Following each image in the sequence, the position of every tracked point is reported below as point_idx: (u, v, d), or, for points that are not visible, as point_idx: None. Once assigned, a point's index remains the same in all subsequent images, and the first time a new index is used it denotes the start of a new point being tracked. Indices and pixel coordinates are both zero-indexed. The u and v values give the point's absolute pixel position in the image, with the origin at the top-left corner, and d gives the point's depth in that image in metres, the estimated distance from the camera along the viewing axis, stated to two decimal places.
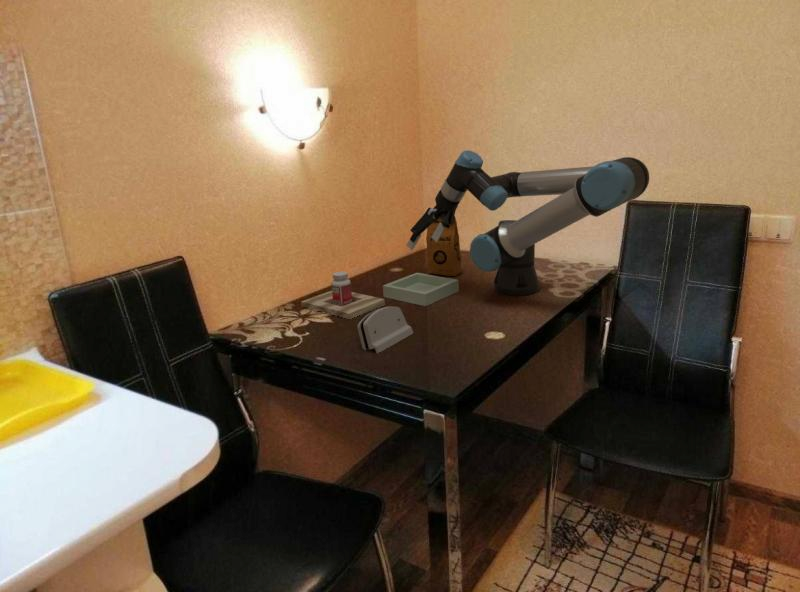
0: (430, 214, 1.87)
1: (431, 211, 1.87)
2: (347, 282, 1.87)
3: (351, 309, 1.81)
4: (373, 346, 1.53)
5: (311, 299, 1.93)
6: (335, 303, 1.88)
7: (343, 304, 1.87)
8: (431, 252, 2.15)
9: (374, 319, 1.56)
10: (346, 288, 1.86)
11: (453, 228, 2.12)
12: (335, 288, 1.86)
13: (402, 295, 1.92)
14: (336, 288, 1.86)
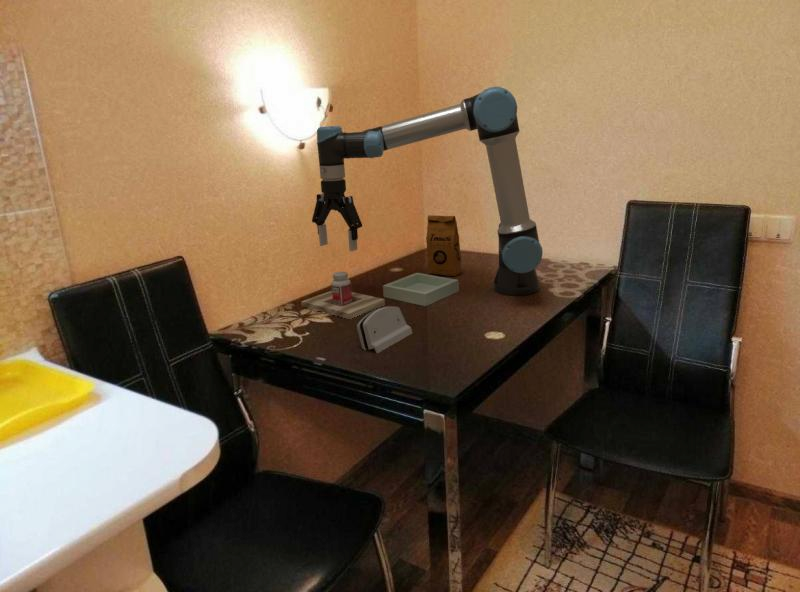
0: (351, 200, 1.77)
1: (350, 197, 1.76)
2: (347, 282, 1.87)
3: (351, 309, 1.81)
4: (373, 346, 1.53)
5: (311, 299, 1.93)
6: (335, 303, 1.88)
7: (343, 304, 1.87)
8: (431, 252, 2.15)
9: (374, 319, 1.56)
10: (346, 288, 1.86)
11: (453, 228, 2.12)
12: (335, 288, 1.86)
13: (402, 295, 1.92)
14: (336, 288, 1.86)
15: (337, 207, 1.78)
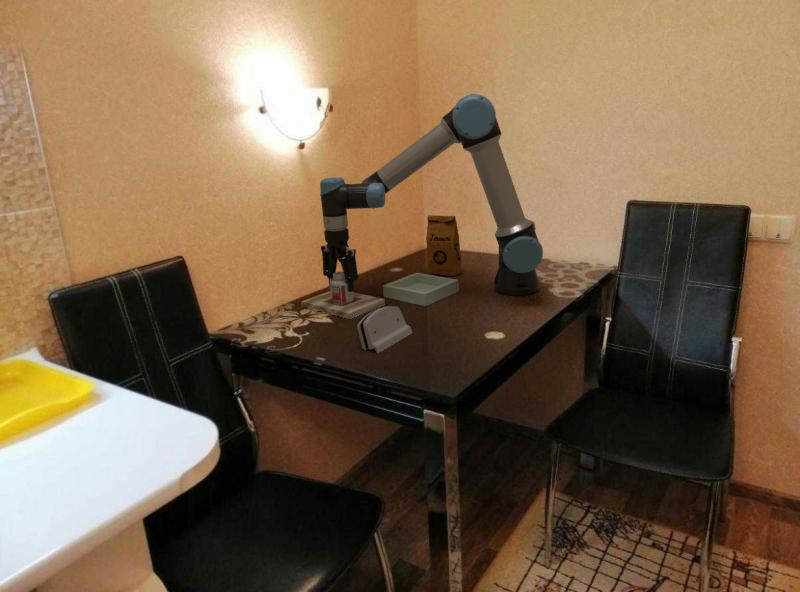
0: (354, 253, 1.82)
1: (353, 251, 1.81)
2: None
3: (351, 309, 1.81)
4: (373, 346, 1.53)
5: (311, 299, 1.93)
6: (335, 303, 1.88)
7: (343, 304, 1.87)
8: (431, 252, 2.15)
9: (374, 319, 1.56)
10: None
11: (453, 228, 2.12)
12: (335, 288, 1.86)
13: (402, 295, 1.92)
14: (336, 288, 1.86)
15: (339, 257, 1.83)
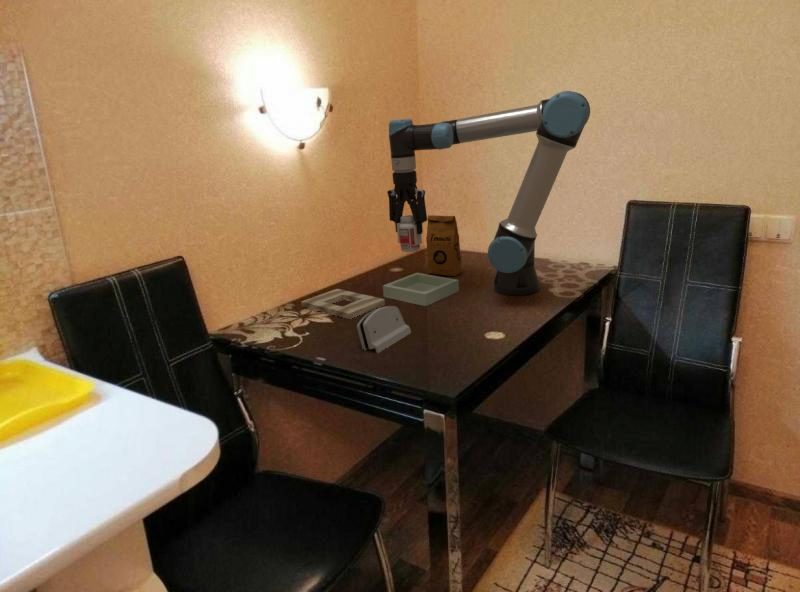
0: (423, 194, 1.83)
1: (423, 192, 1.82)
2: None
3: (351, 309, 1.81)
4: (373, 346, 1.53)
5: (311, 299, 1.93)
6: (403, 246, 1.89)
7: (412, 247, 1.89)
8: (431, 252, 2.15)
9: (373, 319, 1.56)
10: None
11: (453, 228, 2.12)
12: (403, 231, 1.87)
13: (402, 295, 1.92)
14: (405, 231, 1.87)
15: (408, 199, 1.84)
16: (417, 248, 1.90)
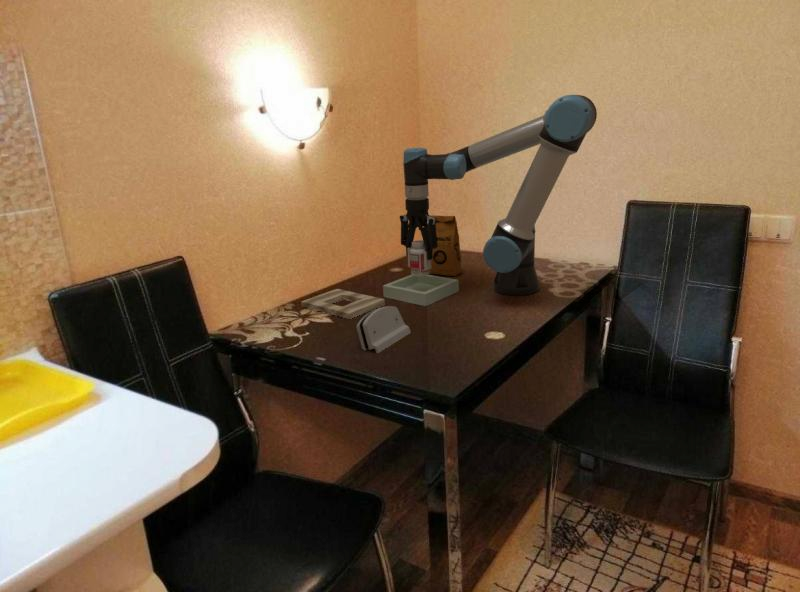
0: (435, 222, 1.87)
1: (434, 219, 1.86)
2: None
3: (351, 309, 1.81)
4: (373, 346, 1.53)
5: (311, 299, 1.93)
6: (413, 271, 1.94)
7: (421, 272, 1.93)
8: None
9: (373, 319, 1.56)
10: None
11: (453, 228, 2.12)
12: (414, 256, 1.92)
13: (402, 295, 1.92)
14: (415, 256, 1.91)
15: (419, 226, 1.88)
16: (427, 273, 1.94)
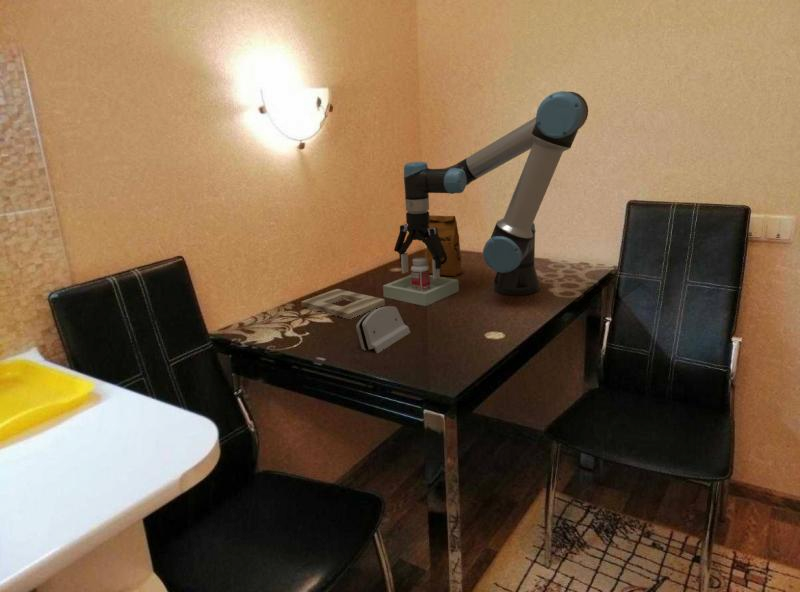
0: (436, 231, 1.88)
1: (435, 228, 1.87)
2: (427, 267, 1.94)
3: (351, 309, 1.81)
4: (373, 346, 1.53)
5: (311, 299, 1.93)
6: (414, 288, 1.95)
7: (422, 289, 1.95)
8: None
9: (373, 319, 1.56)
10: (426, 273, 1.94)
11: (453, 228, 2.12)
12: (415, 273, 1.93)
13: (402, 295, 1.92)
14: (416, 273, 1.93)
15: (422, 238, 1.89)
16: None
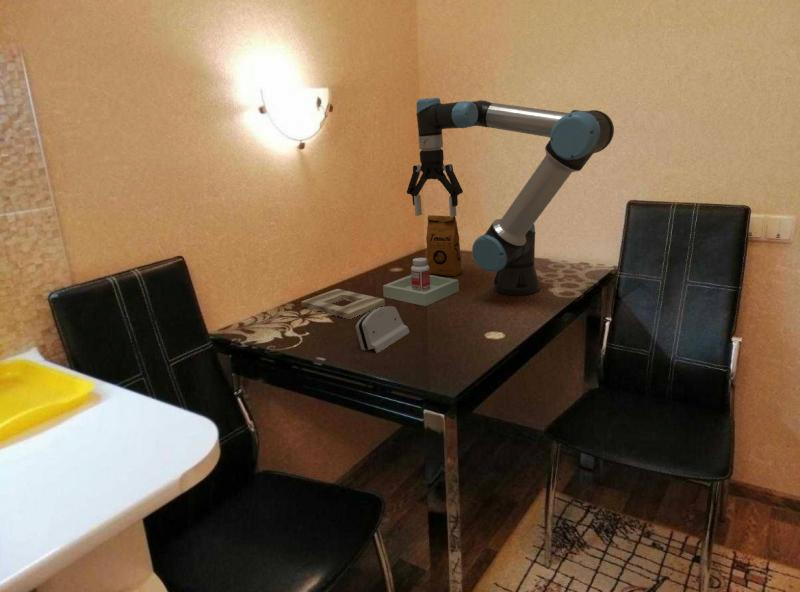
0: (451, 168, 1.85)
1: (450, 165, 1.85)
2: (427, 267, 1.94)
3: (351, 309, 1.81)
4: (372, 346, 1.53)
5: (311, 299, 1.93)
6: (414, 288, 1.95)
7: (422, 289, 1.95)
8: (431, 252, 2.15)
9: (372, 319, 1.56)
10: (426, 273, 1.94)
11: (453, 228, 2.12)
12: (415, 273, 1.93)
13: (402, 295, 1.92)
14: (417, 273, 1.93)
15: (437, 175, 1.86)
16: None
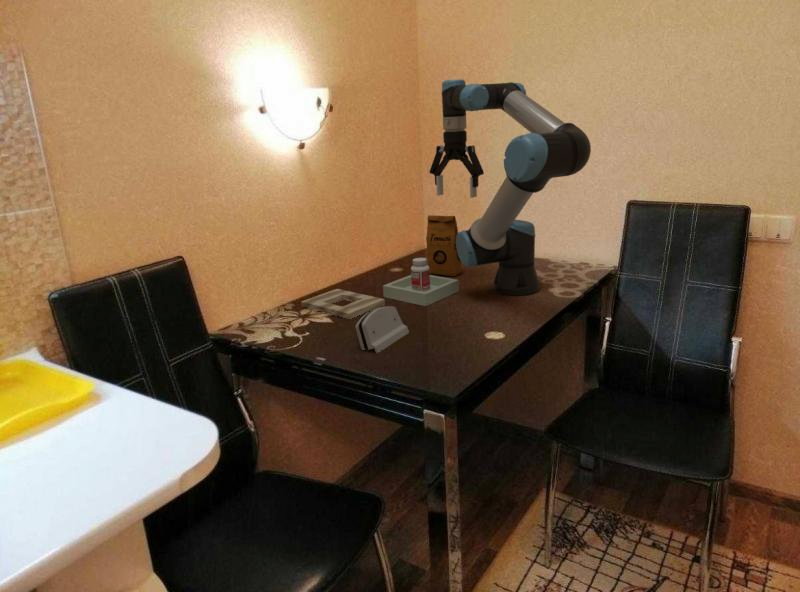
0: (474, 149, 1.89)
1: (472, 146, 1.89)
2: (427, 268, 1.94)
3: (351, 309, 1.81)
4: (372, 346, 1.53)
5: (311, 299, 1.93)
6: (414, 288, 1.95)
7: (422, 289, 1.95)
8: (431, 252, 2.15)
9: (372, 319, 1.56)
10: (426, 273, 1.94)
11: (453, 228, 2.12)
12: (415, 273, 1.93)
13: (402, 295, 1.92)
14: (417, 274, 1.93)
15: (459, 156, 1.90)
16: None
